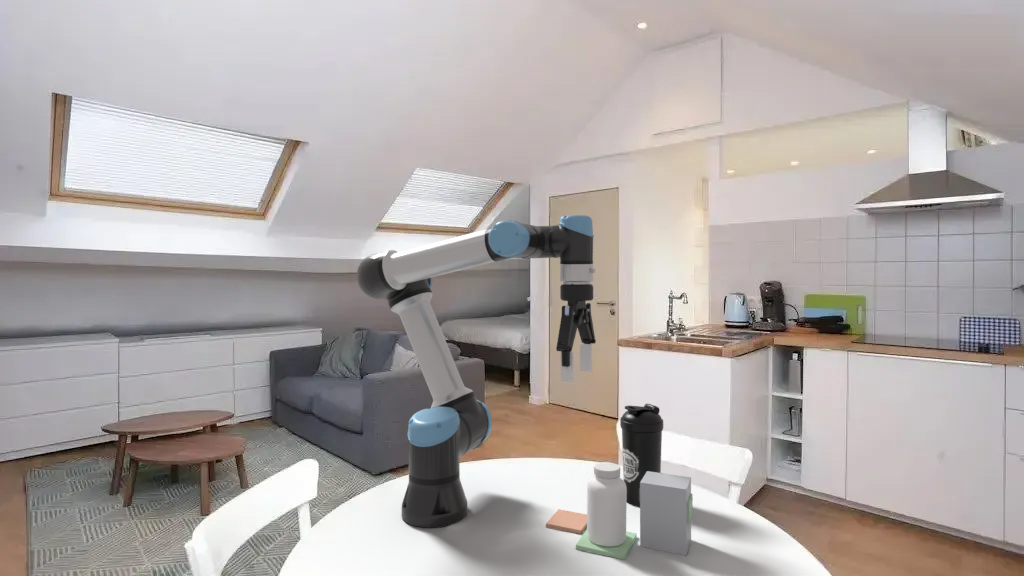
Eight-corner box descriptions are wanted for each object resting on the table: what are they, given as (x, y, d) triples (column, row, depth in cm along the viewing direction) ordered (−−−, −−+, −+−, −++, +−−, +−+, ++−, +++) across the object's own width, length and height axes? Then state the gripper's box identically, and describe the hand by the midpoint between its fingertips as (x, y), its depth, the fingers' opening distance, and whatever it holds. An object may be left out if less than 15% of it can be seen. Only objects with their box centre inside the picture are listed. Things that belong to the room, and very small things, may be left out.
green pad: (575, 549, 111) (575, 545, 111) (590, 528, 120) (590, 524, 120) (625, 559, 107) (625, 555, 107) (636, 537, 116) (636, 533, 116)
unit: (638, 545, 112) (638, 482, 112) (645, 531, 118) (645, 470, 118) (688, 555, 108) (688, 489, 108) (693, 540, 114) (693, 477, 114)
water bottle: (612, 495, 137) (612, 403, 137) (646, 489, 141) (646, 399, 141) (637, 511, 128) (636, 413, 127) (672, 504, 132) (672, 408, 131)
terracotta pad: (545, 527, 121) (545, 523, 121) (558, 512, 128) (558, 509, 128) (580, 534, 117) (580, 530, 117) (592, 518, 124) (592, 515, 124)
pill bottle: (626, 549, 109) (626, 474, 108) (585, 546, 110) (585, 471, 110) (626, 531, 117) (626, 460, 116) (588, 528, 118) (588, 458, 118)
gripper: (574, 284, 114) (575, 387, 114) (607, 282, 136) (607, 368, 137) (541, 284, 117) (541, 384, 117) (578, 282, 139) (578, 366, 140)
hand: (577, 375), depth 127 cm, fingers open, 13 cm apart
